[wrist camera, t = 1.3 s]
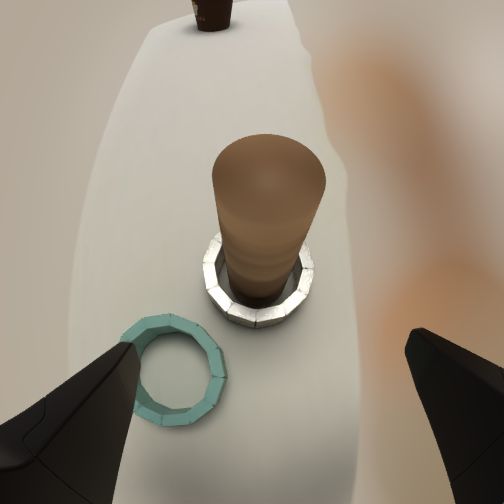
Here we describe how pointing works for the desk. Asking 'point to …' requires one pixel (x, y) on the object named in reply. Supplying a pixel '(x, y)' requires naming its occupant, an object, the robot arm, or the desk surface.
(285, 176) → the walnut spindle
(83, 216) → the desk surface
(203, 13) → the coffee mug
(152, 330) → the teal collar socket
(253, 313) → the stand collar
